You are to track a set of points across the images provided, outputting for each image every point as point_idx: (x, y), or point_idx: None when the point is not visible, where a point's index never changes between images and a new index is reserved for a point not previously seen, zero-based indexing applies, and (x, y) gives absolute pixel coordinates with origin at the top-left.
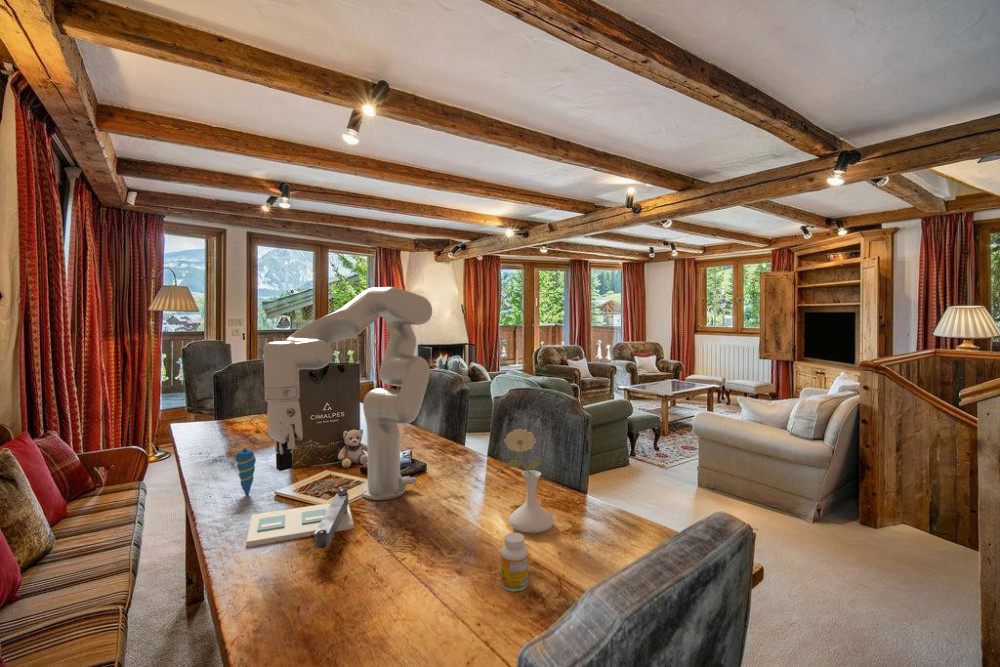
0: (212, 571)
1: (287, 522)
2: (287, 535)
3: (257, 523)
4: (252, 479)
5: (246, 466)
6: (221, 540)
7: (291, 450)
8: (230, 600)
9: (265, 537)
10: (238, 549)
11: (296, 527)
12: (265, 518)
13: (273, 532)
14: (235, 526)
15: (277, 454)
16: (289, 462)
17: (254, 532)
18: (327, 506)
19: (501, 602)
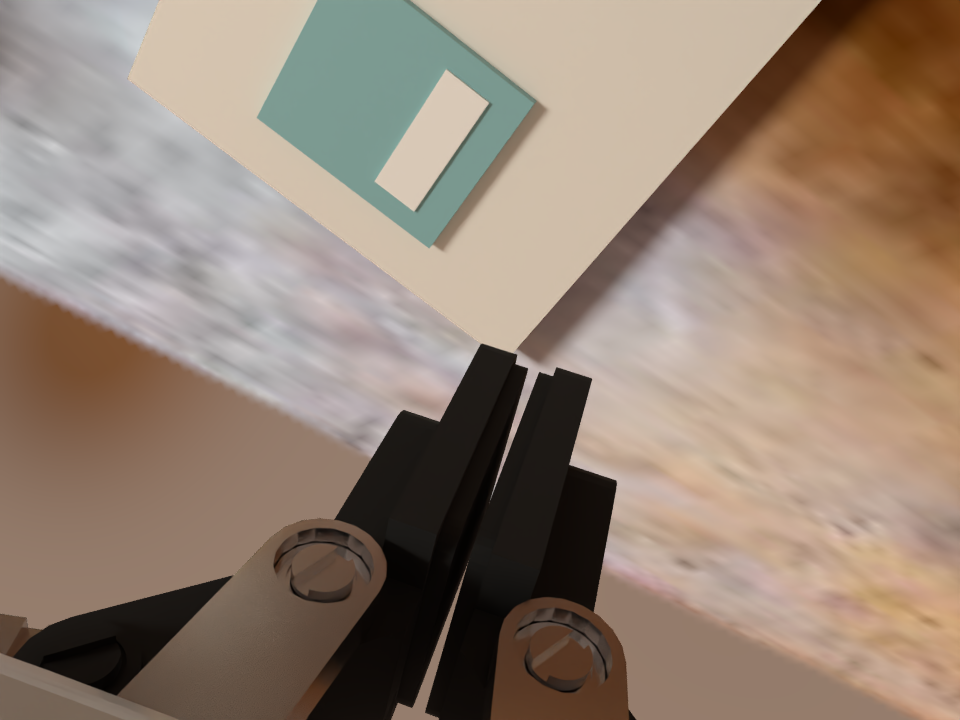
0: (607, 562)
1: (472, 22)
2: (669, 172)
3: (303, 157)
4: None
5: None
6: (311, 352)
7: (620, 699)
8: (936, 685)
9: (558, 272)
10: None
11: (622, 46)
12: (285, 89)
13: (538, 197)
14: (182, 201)
15: (395, 703)
16: (609, 520)
17: (424, 258)
18: None
19: None
